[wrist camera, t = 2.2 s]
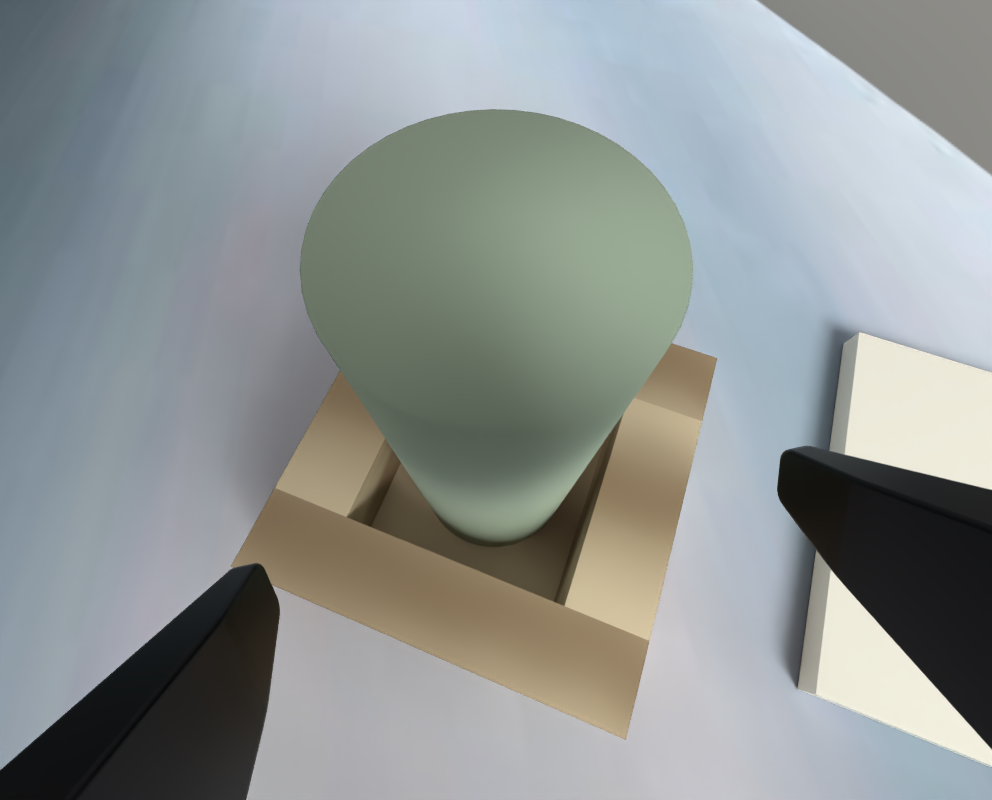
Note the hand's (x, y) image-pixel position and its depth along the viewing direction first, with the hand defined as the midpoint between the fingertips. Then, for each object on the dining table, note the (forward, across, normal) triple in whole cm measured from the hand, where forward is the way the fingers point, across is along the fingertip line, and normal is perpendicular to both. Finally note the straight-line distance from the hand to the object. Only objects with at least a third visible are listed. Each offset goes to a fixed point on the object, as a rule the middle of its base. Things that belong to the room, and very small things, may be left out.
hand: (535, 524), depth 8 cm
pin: (+9, 0, +5) cm, 10 cm away
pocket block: (+10, 0, +5) cm, 11 cm away
